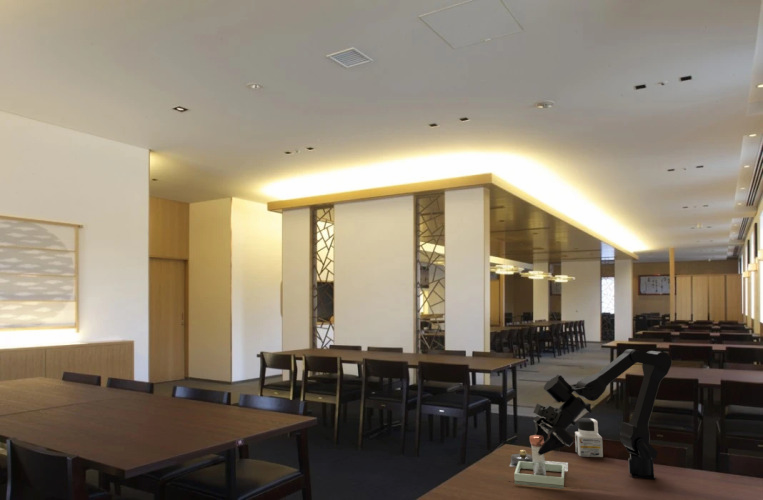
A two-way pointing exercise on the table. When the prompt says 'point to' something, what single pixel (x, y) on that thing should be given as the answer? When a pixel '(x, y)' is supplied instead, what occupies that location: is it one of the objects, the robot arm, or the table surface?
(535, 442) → the glass spice jar
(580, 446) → the container
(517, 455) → the plate
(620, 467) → the table surface
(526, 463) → the tray
